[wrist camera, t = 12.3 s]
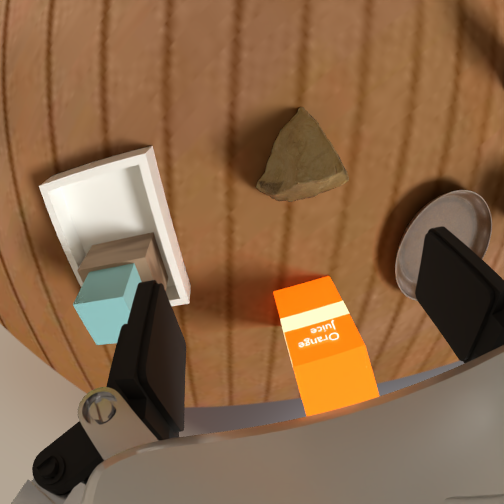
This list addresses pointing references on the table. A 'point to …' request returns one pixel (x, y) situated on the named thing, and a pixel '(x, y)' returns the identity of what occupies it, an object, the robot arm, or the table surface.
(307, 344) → the orange juice
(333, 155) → the rock
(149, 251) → the walnut block
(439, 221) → the plant saucer
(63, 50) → the table surface
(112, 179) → the white tray
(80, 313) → the teal box
